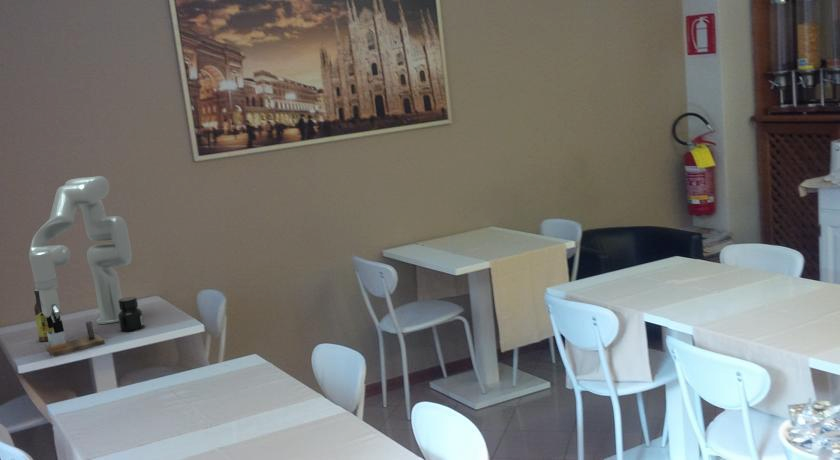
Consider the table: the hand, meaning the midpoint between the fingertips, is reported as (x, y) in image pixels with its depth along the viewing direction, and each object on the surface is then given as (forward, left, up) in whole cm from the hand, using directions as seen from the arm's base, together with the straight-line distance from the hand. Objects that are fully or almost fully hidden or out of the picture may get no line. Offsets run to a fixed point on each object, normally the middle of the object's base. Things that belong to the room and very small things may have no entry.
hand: (56, 329), depth 330 cm
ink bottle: (-28, -6, -8) cm, 30 cm away
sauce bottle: (0, -23, -8) cm, 25 cm away
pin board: (-5, +1, -8) cm, 10 cm away
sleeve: (0, +1, -6) cm, 6 cm away
